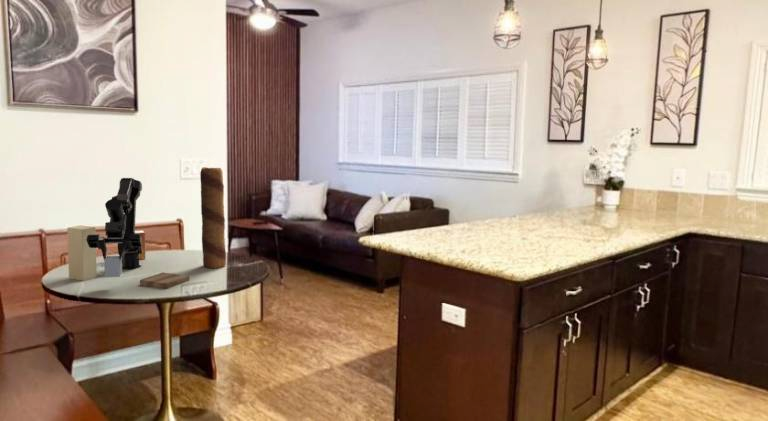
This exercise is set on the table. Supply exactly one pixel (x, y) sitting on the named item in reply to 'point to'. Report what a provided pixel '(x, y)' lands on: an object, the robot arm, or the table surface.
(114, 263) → the blue-grey block
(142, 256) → the small box
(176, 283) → the walnut block
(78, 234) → the tall beige block
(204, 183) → the wafer roll
